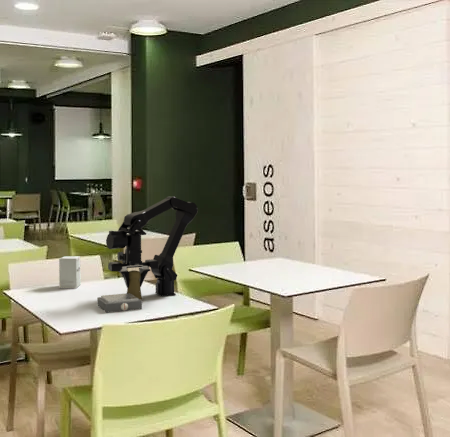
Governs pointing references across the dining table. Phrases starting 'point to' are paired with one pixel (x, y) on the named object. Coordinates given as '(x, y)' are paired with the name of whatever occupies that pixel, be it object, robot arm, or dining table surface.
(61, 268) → the supplement box
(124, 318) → the dining table surface
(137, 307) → the kitchen scale
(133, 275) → the cork
